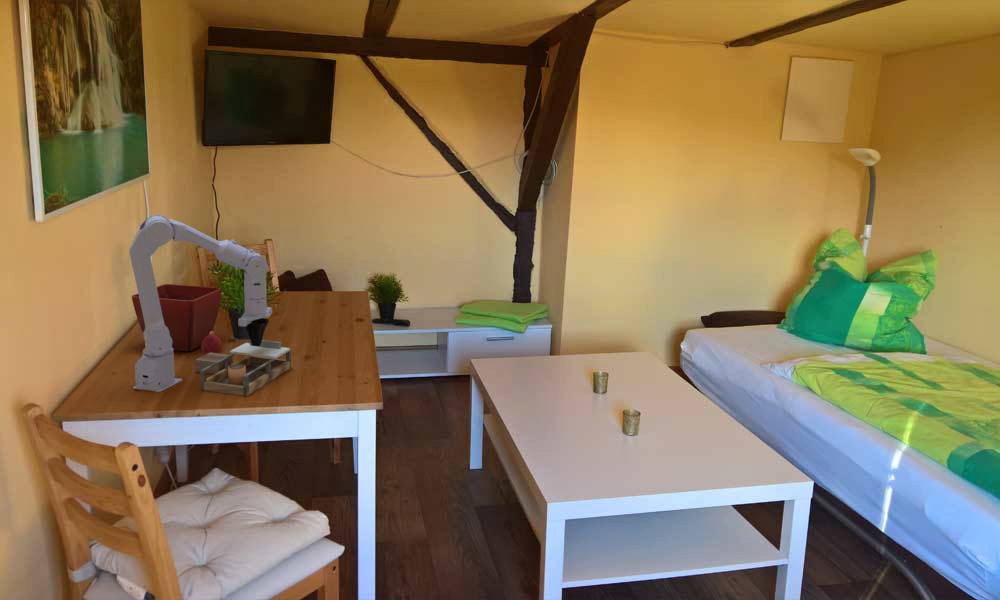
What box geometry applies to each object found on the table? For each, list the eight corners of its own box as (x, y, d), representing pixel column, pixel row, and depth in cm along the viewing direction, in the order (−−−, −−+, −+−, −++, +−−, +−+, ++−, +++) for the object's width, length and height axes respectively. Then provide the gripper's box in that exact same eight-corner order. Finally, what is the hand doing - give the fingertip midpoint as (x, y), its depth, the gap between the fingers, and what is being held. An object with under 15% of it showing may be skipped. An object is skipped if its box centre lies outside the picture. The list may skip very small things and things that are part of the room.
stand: (218, 376, 201) (218, 362, 200) (195, 373, 202) (195, 359, 201) (232, 368, 207) (232, 355, 206) (210, 365, 209) (209, 352, 208)
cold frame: (247, 397, 187) (246, 376, 186) (200, 391, 189) (200, 370, 188) (291, 368, 210) (290, 349, 209) (249, 363, 212) (249, 344, 211)
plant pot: (167, 334, 236) (165, 282, 232) (224, 338, 234) (223, 287, 230) (132, 351, 217) (129, 296, 213) (194, 356, 216) (192, 301, 212)
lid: (275, 358, 199) (275, 350, 199) (229, 353, 202) (229, 344, 201) (290, 350, 208) (290, 342, 207) (246, 344, 210) (245, 336, 209)
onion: (218, 361, 213) (217, 335, 211) (198, 360, 213) (197, 333, 211) (225, 355, 218) (224, 329, 216) (206, 354, 218) (205, 328, 217)
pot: (240, 388, 192) (240, 370, 191) (225, 386, 193) (224, 368, 191) (249, 383, 196) (248, 365, 195) (234, 381, 197) (233, 363, 196)
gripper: (255, 304, 191) (256, 354, 195) (281, 293, 205) (282, 339, 208) (230, 302, 193) (231, 351, 196) (258, 290, 207) (259, 337, 210)
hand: (256, 345), depth 202 cm, fingers closed
